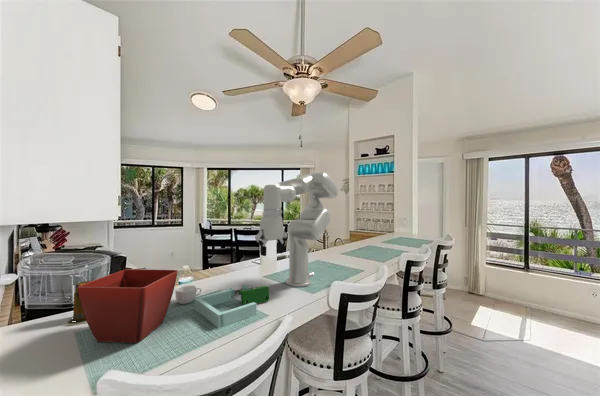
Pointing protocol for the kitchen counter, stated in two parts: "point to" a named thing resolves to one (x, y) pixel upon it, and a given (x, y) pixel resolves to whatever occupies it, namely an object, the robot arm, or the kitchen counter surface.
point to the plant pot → (127, 303)
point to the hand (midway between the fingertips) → (271, 253)
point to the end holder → (226, 317)
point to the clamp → (254, 295)
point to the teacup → (186, 294)
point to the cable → (241, 289)
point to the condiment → (77, 308)
